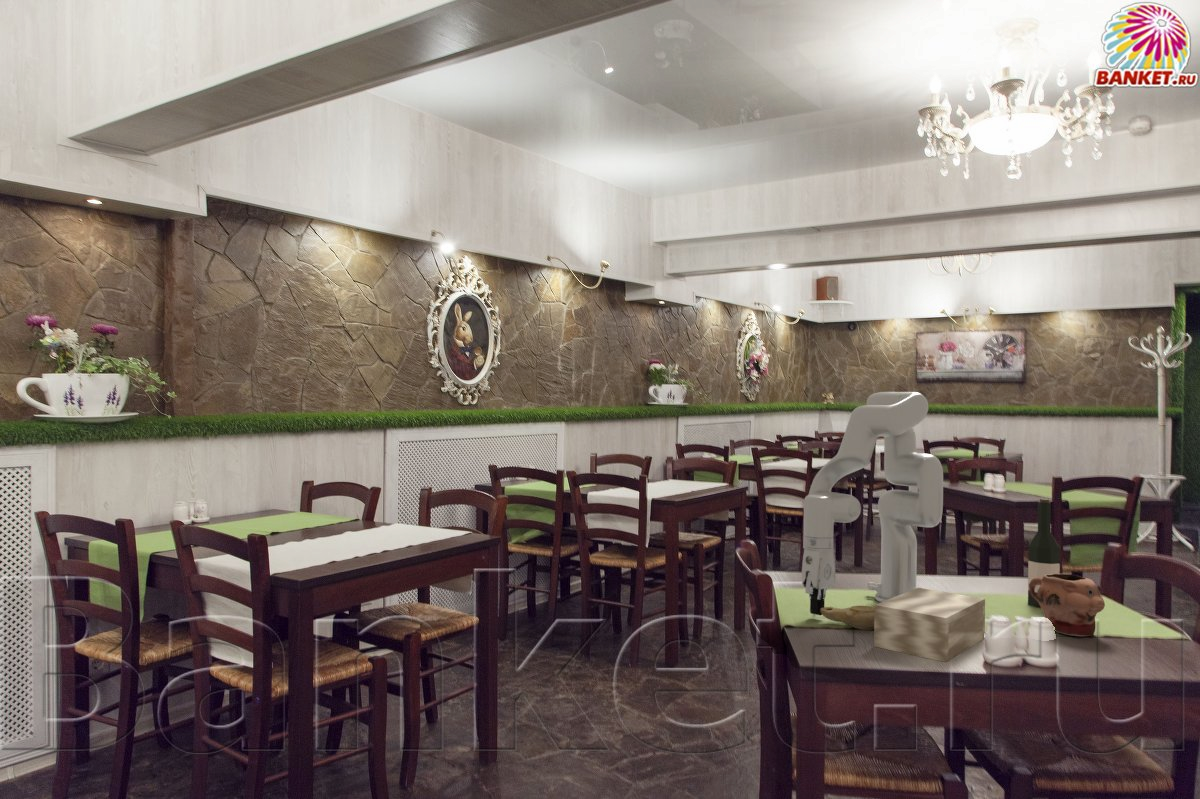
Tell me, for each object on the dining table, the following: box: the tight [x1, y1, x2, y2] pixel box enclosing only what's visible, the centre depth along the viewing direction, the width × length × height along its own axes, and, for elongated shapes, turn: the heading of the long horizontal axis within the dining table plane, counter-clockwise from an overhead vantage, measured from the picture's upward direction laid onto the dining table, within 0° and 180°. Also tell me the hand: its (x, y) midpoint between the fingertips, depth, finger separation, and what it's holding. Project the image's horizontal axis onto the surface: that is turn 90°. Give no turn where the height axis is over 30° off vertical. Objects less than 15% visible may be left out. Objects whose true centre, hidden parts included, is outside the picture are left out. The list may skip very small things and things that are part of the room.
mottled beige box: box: [873, 587, 986, 663], centre depth 189 cm, size 16×26×10 cm, turn 137°
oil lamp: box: [820, 605, 875, 631], centre depth 201 cm, size 11×14×5 cm
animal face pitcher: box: [1029, 573, 1106, 637], centre depth 201 cm, size 20×12×14 cm, turn 28°
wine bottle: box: [1027, 498, 1061, 609], centre depth 228 cm, size 8×8×30 cm
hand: (817, 613), depth 208 cm, fingers closed
